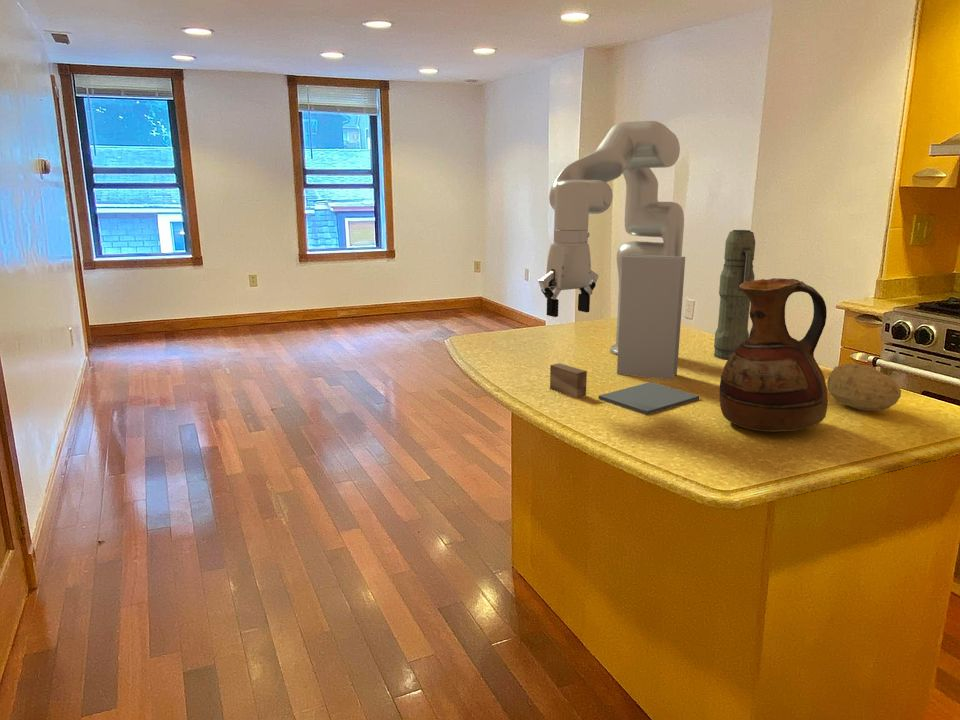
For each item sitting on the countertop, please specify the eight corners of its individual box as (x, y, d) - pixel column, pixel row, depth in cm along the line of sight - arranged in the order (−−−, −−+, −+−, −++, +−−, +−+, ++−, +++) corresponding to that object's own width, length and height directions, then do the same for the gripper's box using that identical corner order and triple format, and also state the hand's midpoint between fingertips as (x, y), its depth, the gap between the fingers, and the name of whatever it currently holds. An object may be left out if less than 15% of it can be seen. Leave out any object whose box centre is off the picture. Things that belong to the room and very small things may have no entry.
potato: (858, 397, 158) (864, 357, 155) (903, 418, 144) (910, 374, 141) (817, 399, 157) (822, 358, 154) (858, 420, 143) (865, 376, 140)
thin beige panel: (677, 374, 177) (685, 256, 169) (673, 380, 172) (681, 259, 164) (622, 368, 182) (627, 254, 175) (616, 373, 178) (622, 256, 170)
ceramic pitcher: (705, 409, 150) (716, 271, 143) (799, 409, 150) (815, 271, 142) (734, 442, 131) (749, 285, 124) (842, 443, 131) (864, 285, 123)
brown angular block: (559, 387, 167) (559, 363, 165) (585, 396, 160) (586, 371, 158) (549, 389, 165) (550, 365, 163) (576, 398, 158) (577, 373, 156)
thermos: (732, 350, 201) (743, 228, 192) (756, 360, 190) (769, 231, 181) (704, 352, 199) (714, 229, 190) (727, 362, 188) (739, 232, 179)
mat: (650, 385, 168) (650, 381, 167) (699, 399, 157) (699, 395, 157) (598, 398, 157) (598, 395, 157) (646, 415, 146) (647, 411, 146)
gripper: (586, 235, 161) (583, 307, 166) (530, 238, 152) (528, 315, 156) (610, 237, 156) (606, 312, 160) (553, 240, 146) (550, 320, 150)
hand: (568, 313), depth 158 cm, fingers open, 9 cm apart
